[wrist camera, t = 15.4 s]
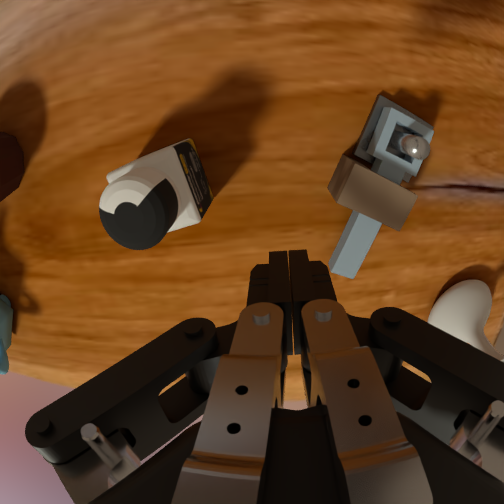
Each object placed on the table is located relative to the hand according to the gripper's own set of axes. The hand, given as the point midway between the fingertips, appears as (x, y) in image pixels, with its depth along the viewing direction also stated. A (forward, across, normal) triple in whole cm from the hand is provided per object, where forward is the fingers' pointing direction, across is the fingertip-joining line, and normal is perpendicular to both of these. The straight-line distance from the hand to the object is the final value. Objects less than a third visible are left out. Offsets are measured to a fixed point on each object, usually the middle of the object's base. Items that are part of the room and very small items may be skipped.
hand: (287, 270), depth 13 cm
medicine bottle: (+21, +11, 0) cm, 24 cm away
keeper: (+21, -9, +2) cm, 23 cm away
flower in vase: (+21, -25, +21) cm, 39 cm away
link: (+20, -10, +3) cm, 23 cm away
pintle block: (+21, -12, -3) cm, 25 cm away
